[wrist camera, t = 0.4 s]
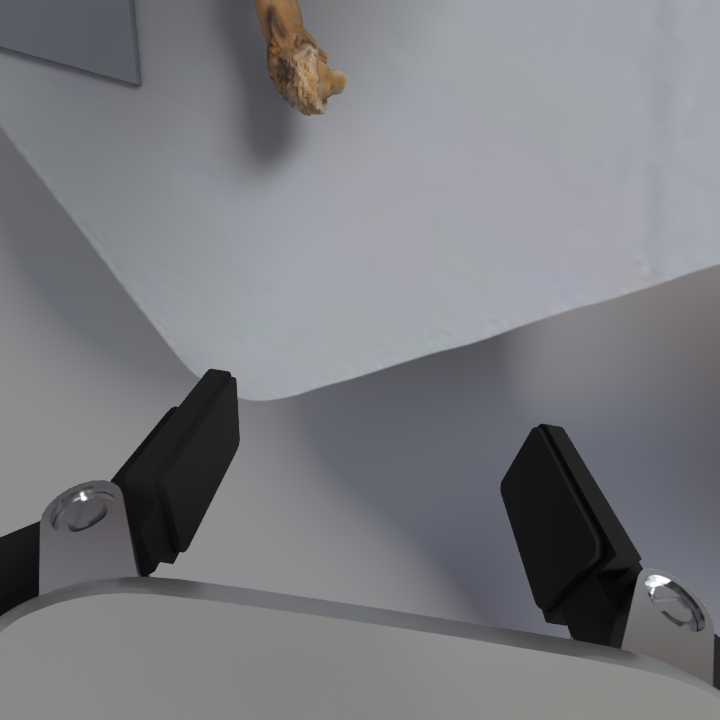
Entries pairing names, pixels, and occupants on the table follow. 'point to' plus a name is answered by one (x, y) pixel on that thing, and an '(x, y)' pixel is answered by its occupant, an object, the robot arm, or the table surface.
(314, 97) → the lion figurine
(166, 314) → the table surface
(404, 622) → the robot arm
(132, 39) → the mat
